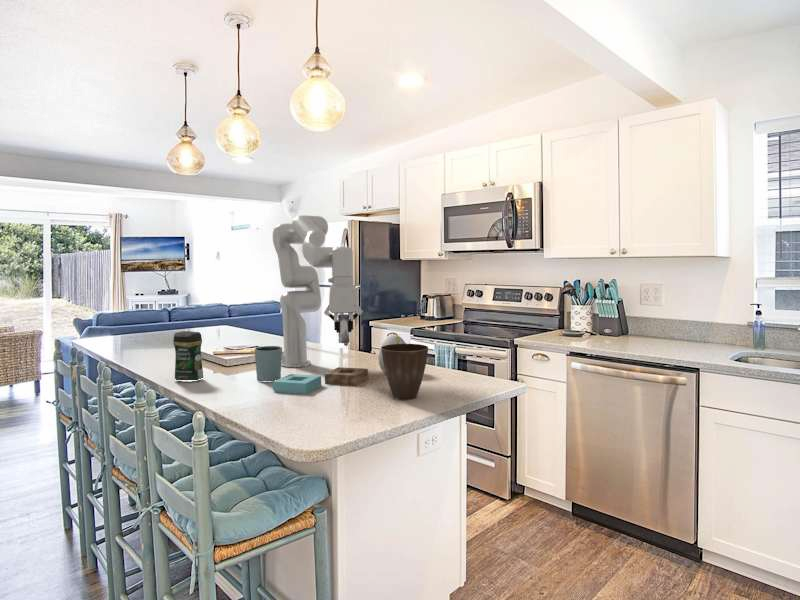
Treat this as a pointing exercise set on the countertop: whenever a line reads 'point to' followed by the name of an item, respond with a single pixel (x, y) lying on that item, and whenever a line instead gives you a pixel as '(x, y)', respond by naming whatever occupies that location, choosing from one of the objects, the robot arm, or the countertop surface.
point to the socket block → (297, 383)
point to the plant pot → (404, 368)
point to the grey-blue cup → (268, 363)
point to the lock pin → (343, 328)
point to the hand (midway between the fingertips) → (343, 331)
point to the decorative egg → (388, 341)
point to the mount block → (346, 376)
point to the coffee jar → (188, 355)
